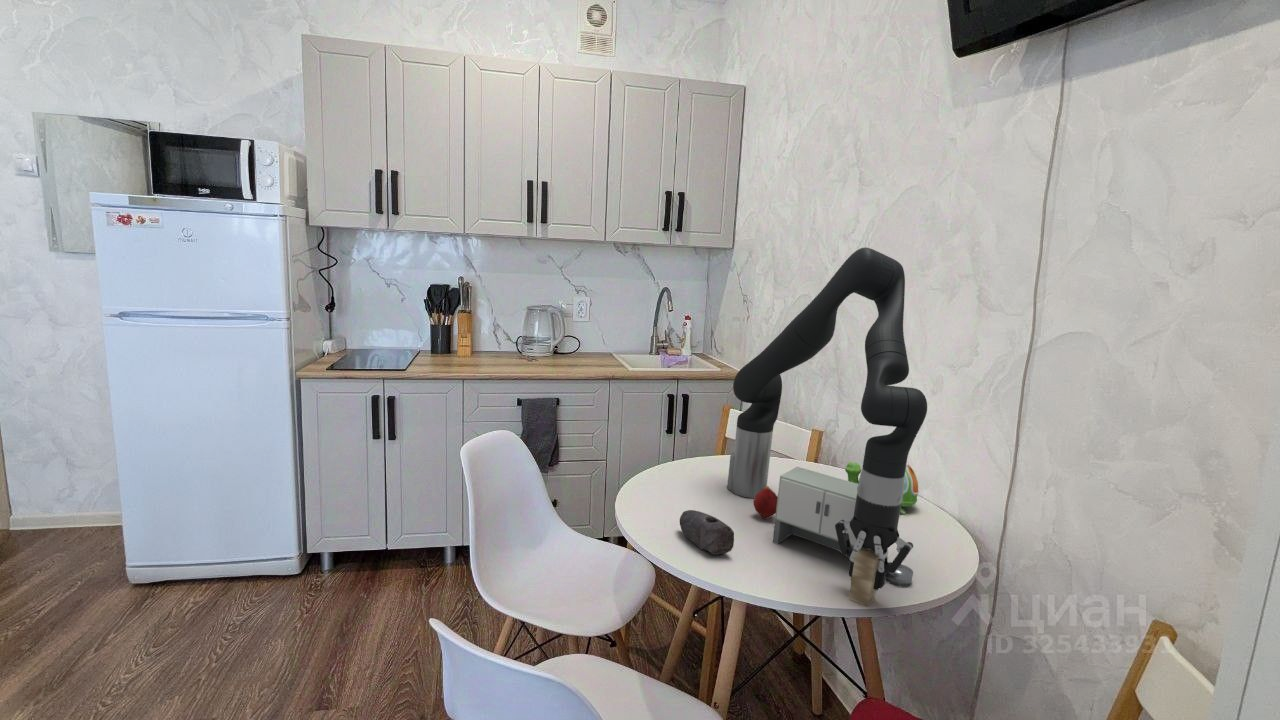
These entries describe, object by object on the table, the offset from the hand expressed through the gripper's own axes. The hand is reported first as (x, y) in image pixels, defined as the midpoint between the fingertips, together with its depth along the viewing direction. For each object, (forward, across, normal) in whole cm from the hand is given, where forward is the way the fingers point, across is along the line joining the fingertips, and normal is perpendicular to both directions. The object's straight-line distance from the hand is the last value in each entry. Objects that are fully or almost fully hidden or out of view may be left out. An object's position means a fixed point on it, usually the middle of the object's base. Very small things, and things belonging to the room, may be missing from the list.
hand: (865, 583), depth 113 cm
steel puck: (+3, -3, -11) cm, 12 cm away
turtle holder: (+3, +12, -50) cm, 51 cm away
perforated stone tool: (+3, +32, +5) cm, 33 cm away
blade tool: (+3, 0, -5) cm, 5 cm away
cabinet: (+3, +12, -12) cm, 17 cm away
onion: (+3, +29, -18) cm, 34 cm away
